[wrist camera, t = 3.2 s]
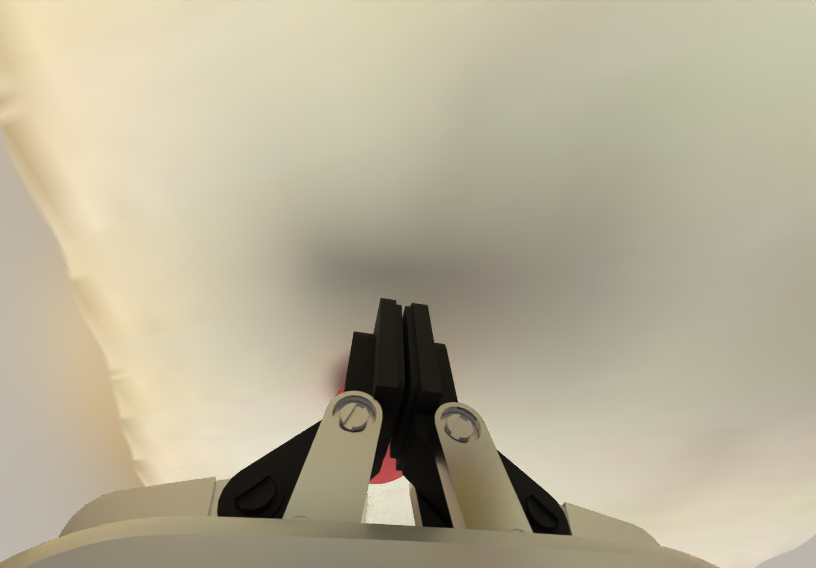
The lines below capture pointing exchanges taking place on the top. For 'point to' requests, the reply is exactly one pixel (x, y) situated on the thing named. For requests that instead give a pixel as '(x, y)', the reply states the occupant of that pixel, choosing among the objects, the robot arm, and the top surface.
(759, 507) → the top surface
